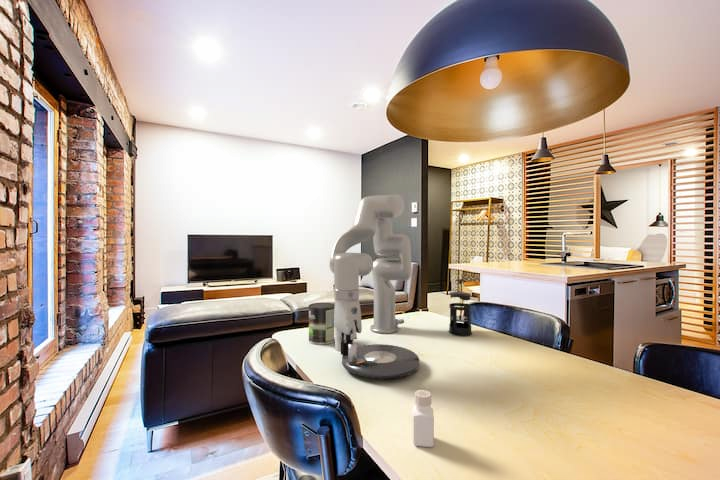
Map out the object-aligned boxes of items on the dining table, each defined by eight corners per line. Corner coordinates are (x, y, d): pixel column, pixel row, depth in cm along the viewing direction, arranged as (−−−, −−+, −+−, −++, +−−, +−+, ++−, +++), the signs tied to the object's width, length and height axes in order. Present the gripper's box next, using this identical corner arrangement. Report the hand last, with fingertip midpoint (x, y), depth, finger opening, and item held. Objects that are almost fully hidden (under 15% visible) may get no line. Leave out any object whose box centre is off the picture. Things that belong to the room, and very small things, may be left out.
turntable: (385, 347, 116) (385, 323, 116) (435, 369, 96) (435, 341, 96) (328, 361, 102) (328, 335, 102) (372, 390, 82) (372, 357, 82)
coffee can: (312, 346, 118) (312, 308, 118) (305, 338, 127) (305, 303, 127) (338, 342, 122) (338, 306, 122) (329, 335, 132) (329, 301, 132)
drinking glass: (354, 346, 117) (354, 320, 117) (349, 353, 111) (349, 324, 111) (337, 345, 119) (337, 318, 119) (331, 351, 113) (331, 323, 113)
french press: (463, 338, 128) (463, 281, 128) (443, 333, 135) (443, 279, 135) (478, 332, 136) (478, 279, 136) (458, 327, 143) (458, 277, 143)
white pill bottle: (432, 436, 64) (432, 389, 64) (434, 449, 60) (434, 399, 60) (412, 434, 65) (412, 388, 65) (412, 447, 61) (412, 397, 61)
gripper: (369, 297, 92) (369, 360, 92) (345, 290, 105) (345, 345, 105) (347, 300, 88) (347, 365, 88) (325, 292, 101) (325, 349, 101)
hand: (346, 354), depth 97 cm, fingers closed
